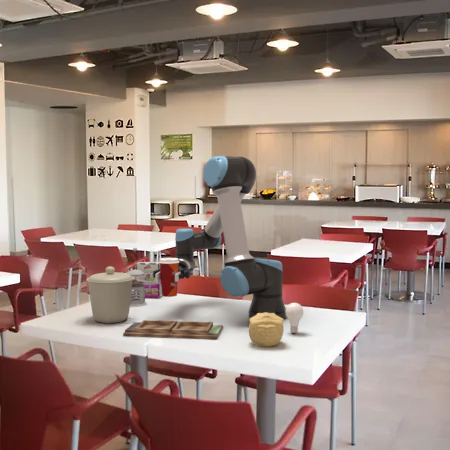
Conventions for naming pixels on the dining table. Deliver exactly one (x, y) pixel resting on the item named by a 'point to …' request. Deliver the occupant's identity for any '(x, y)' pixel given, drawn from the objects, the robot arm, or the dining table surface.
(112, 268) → the canister
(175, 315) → the dining table surface
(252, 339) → the sculpture
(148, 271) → the candy bar box
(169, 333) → the wooden compartment tray
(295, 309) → the lightbulb
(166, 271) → the paper cup
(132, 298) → the french press
